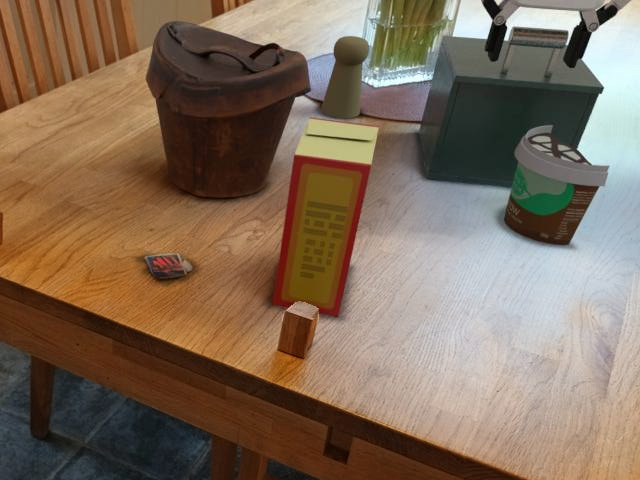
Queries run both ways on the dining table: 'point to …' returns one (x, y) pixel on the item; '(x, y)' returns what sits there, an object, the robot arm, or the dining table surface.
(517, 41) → the bin lid
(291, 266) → the baking soda box
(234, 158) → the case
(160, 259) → the matchbox
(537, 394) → the dining table surface
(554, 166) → the food container
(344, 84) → the olive pawn figure
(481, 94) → the waste bin
